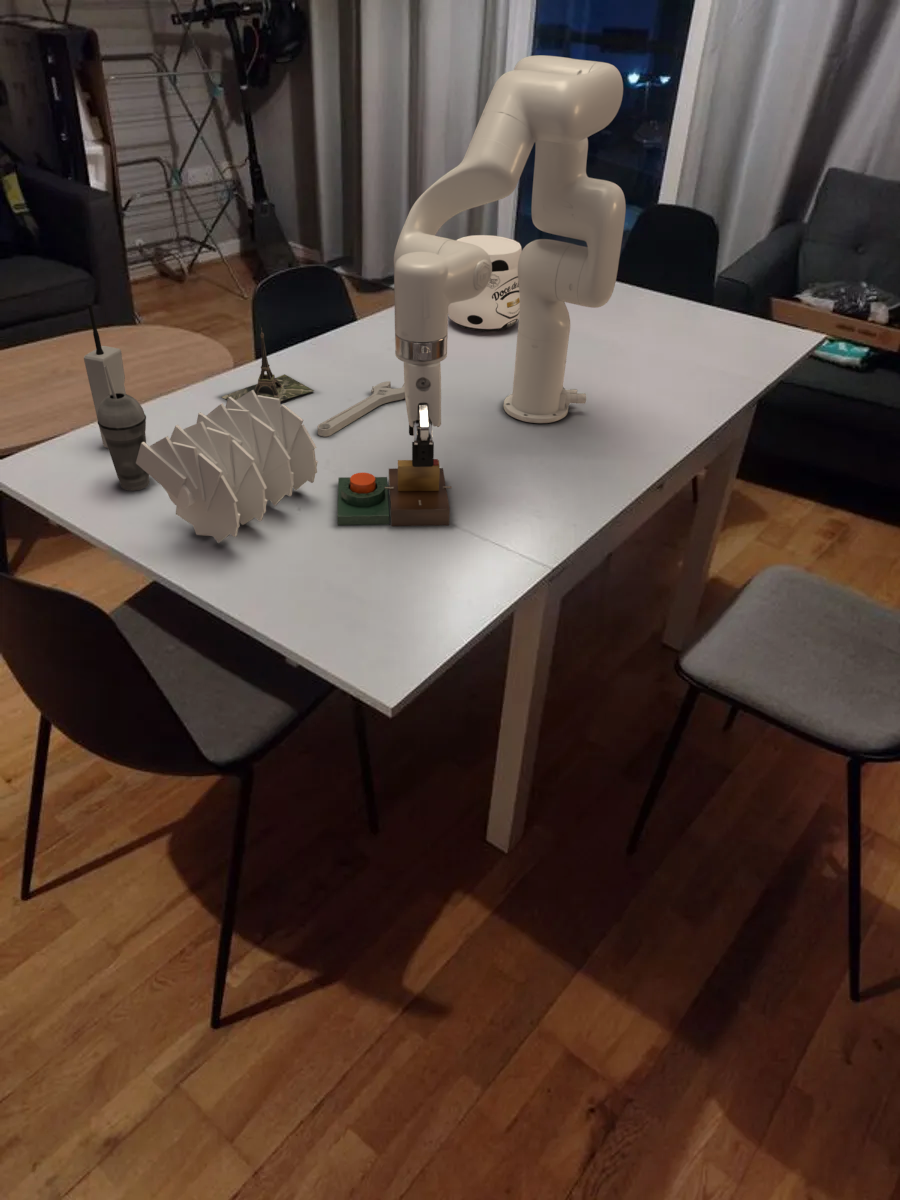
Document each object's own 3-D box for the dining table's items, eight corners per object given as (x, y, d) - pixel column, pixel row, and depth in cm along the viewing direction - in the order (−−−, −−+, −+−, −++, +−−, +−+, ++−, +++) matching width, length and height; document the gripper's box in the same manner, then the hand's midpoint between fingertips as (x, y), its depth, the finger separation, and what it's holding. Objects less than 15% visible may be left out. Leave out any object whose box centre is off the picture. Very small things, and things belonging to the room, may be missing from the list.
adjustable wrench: (325, 439, 160) (325, 430, 158) (300, 428, 163) (299, 419, 161) (414, 394, 175) (414, 386, 174) (389, 385, 178) (389, 377, 177)
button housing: (338, 486, 146) (338, 467, 144) (387, 485, 147) (386, 467, 145) (337, 525, 137) (336, 506, 135) (389, 524, 138) (389, 505, 135)
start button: (350, 481, 141) (350, 472, 140) (375, 481, 142) (375, 472, 141) (350, 494, 138) (349, 485, 137) (375, 494, 139) (375, 484, 138)
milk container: (521, 339, 201) (528, 258, 190) (445, 335, 201) (448, 254, 190) (517, 312, 215) (524, 235, 204) (446, 309, 215) (449, 232, 204)
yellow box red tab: (398, 491, 140) (398, 464, 137) (397, 484, 141) (397, 458, 138) (438, 490, 140) (439, 464, 137) (438, 484, 142) (438, 458, 139)
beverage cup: (133, 500, 140) (108, 381, 128) (102, 486, 143) (74, 369, 131) (167, 481, 145) (147, 365, 133) (136, 468, 148) (113, 354, 136)
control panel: (383, 484, 147) (383, 467, 145) (447, 483, 148) (448, 466, 146) (386, 526, 137) (385, 509, 135) (454, 525, 138) (455, 508, 136)
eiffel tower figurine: (251, 414, 166) (243, 346, 158) (221, 397, 171) (212, 329, 163) (314, 392, 174) (310, 326, 166) (284, 376, 180) (278, 311, 172)
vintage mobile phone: (139, 439, 156) (111, 298, 141) (122, 451, 153) (91, 308, 137) (121, 435, 157) (91, 295, 142) (103, 447, 154) (71, 305, 138)
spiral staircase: (311, 507, 148) (210, 575, 130) (233, 441, 150) (122, 499, 131) (349, 428, 136) (244, 490, 118) (264, 357, 137) (147, 408, 119)
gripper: (452, 369, 120) (449, 478, 131) (442, 321, 134) (440, 423, 144) (397, 370, 120) (399, 479, 130) (392, 321, 133) (394, 424, 144)
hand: (420, 449), depth 137 cm, fingers open, 9 cm apart
